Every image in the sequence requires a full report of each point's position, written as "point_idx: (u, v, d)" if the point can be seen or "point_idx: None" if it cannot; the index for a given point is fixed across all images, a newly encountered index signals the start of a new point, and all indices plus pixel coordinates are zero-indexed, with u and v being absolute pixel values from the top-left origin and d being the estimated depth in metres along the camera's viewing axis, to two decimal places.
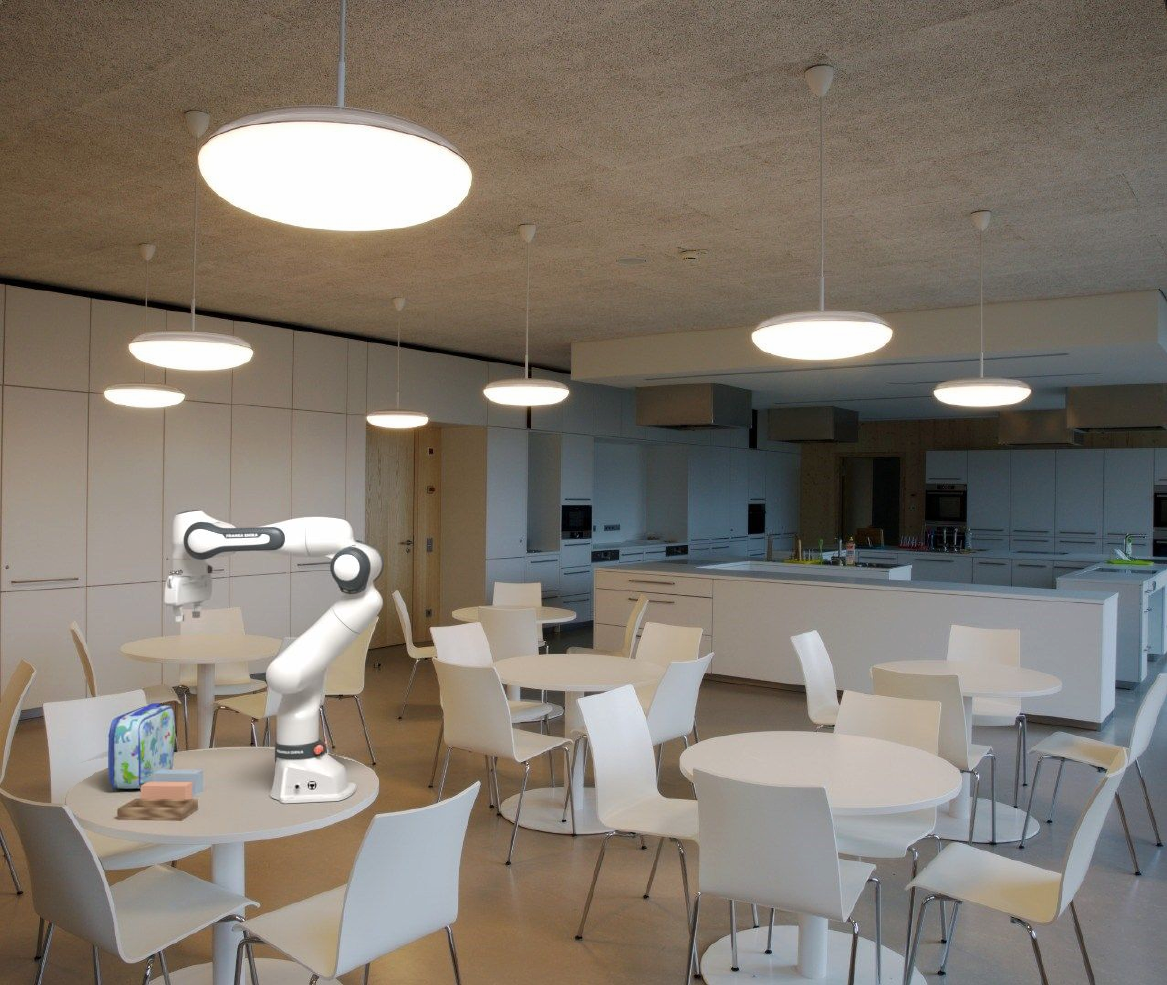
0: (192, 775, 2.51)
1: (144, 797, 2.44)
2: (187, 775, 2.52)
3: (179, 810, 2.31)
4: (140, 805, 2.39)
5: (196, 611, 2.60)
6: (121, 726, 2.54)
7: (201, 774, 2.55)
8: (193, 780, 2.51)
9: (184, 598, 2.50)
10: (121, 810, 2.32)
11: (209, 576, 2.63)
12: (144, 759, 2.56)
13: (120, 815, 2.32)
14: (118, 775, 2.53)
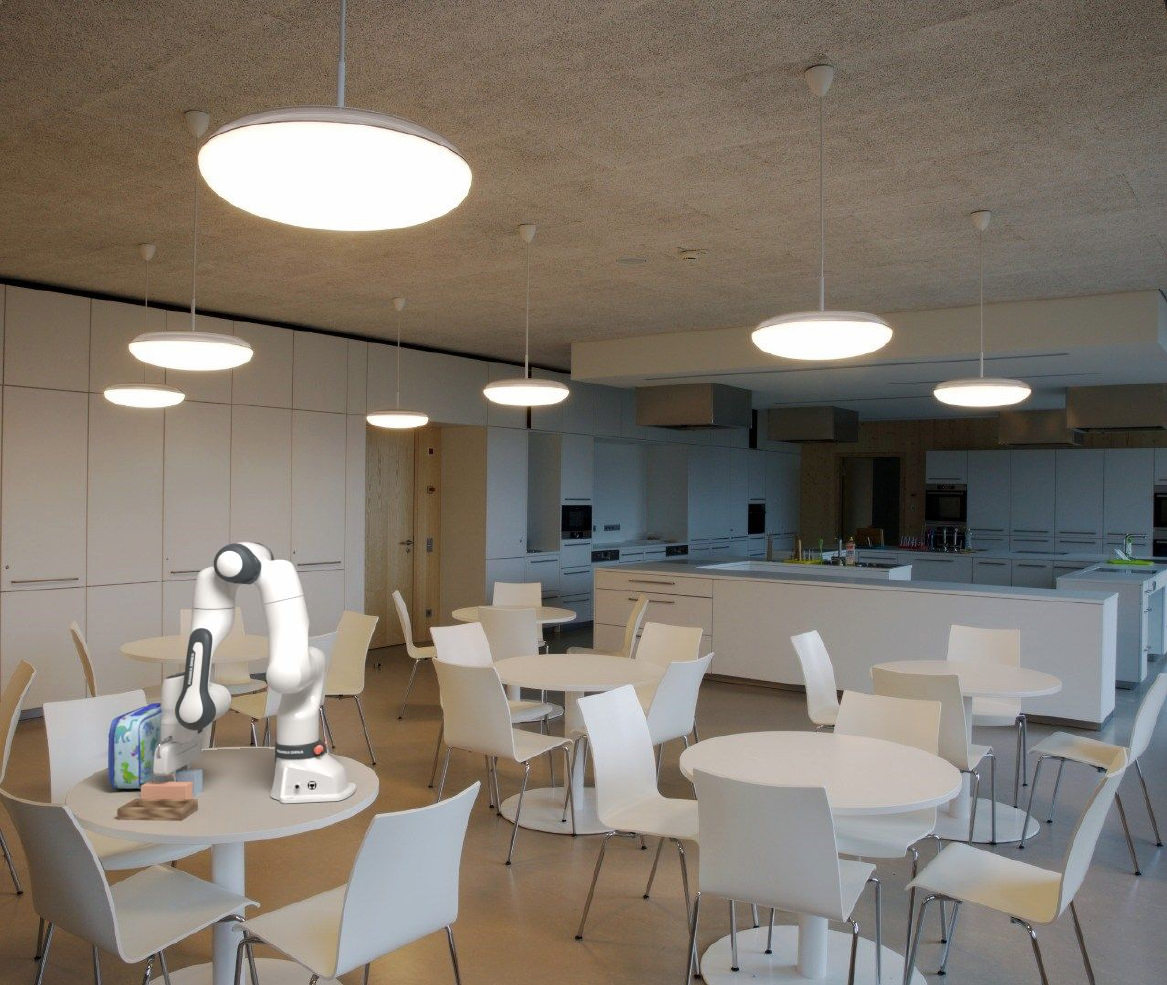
0: (191, 775, 2.51)
1: (144, 797, 2.44)
2: (186, 775, 2.51)
3: (179, 810, 2.31)
4: (140, 805, 2.39)
5: None
6: (121, 726, 2.54)
7: (200, 774, 2.54)
8: (192, 780, 2.51)
9: (174, 765, 2.48)
10: (121, 810, 2.32)
11: (199, 735, 2.61)
12: (144, 759, 2.56)
13: (120, 815, 2.32)
14: (118, 775, 2.53)
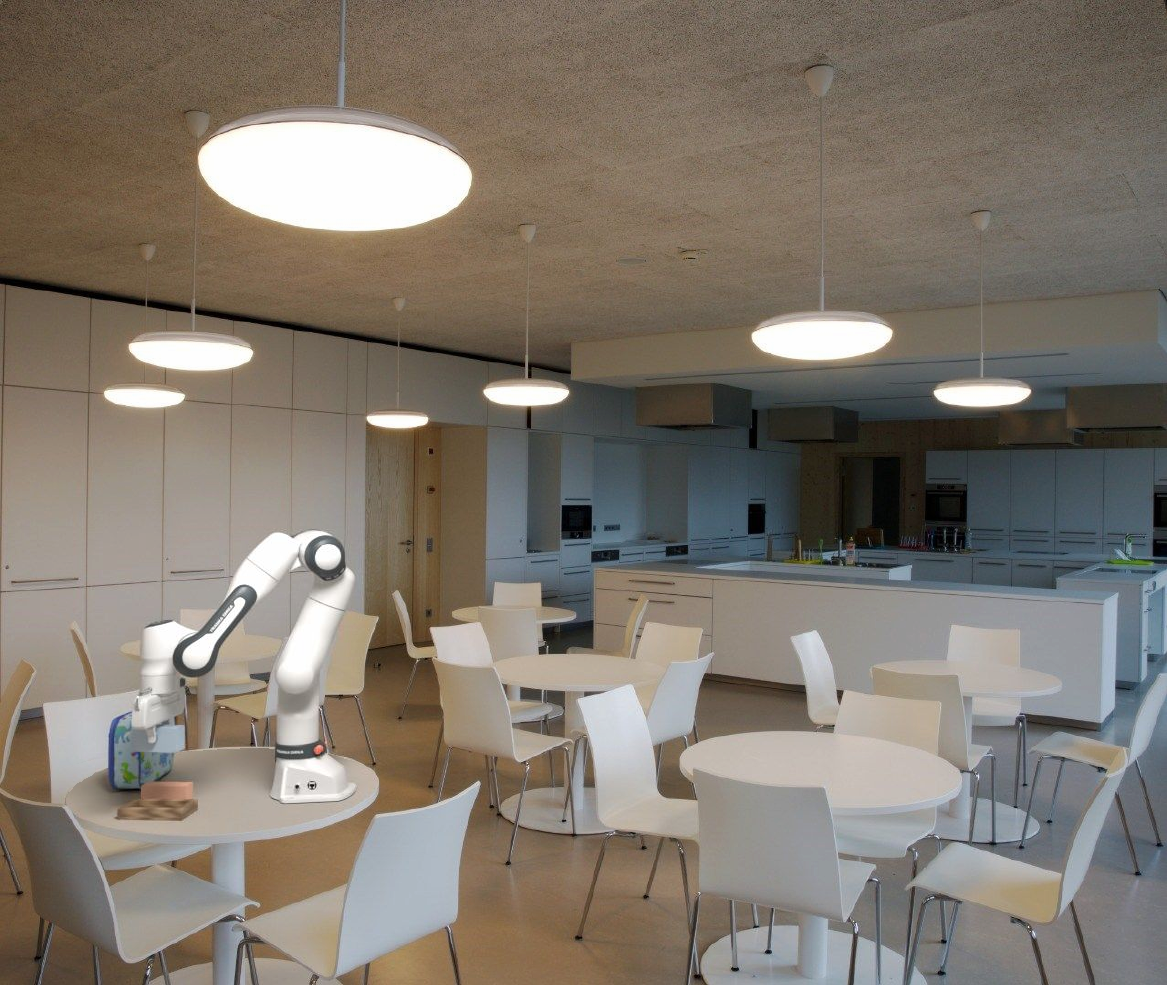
0: (172, 730, 2.33)
1: (144, 797, 2.44)
2: (167, 730, 2.34)
3: (179, 810, 2.31)
4: (140, 805, 2.39)
5: None
6: (121, 726, 2.54)
7: (183, 729, 2.37)
8: (173, 735, 2.33)
9: (154, 718, 2.30)
10: (121, 810, 2.32)
11: (182, 689, 2.43)
12: (144, 759, 2.56)
13: (120, 815, 2.32)
14: (118, 775, 2.53)
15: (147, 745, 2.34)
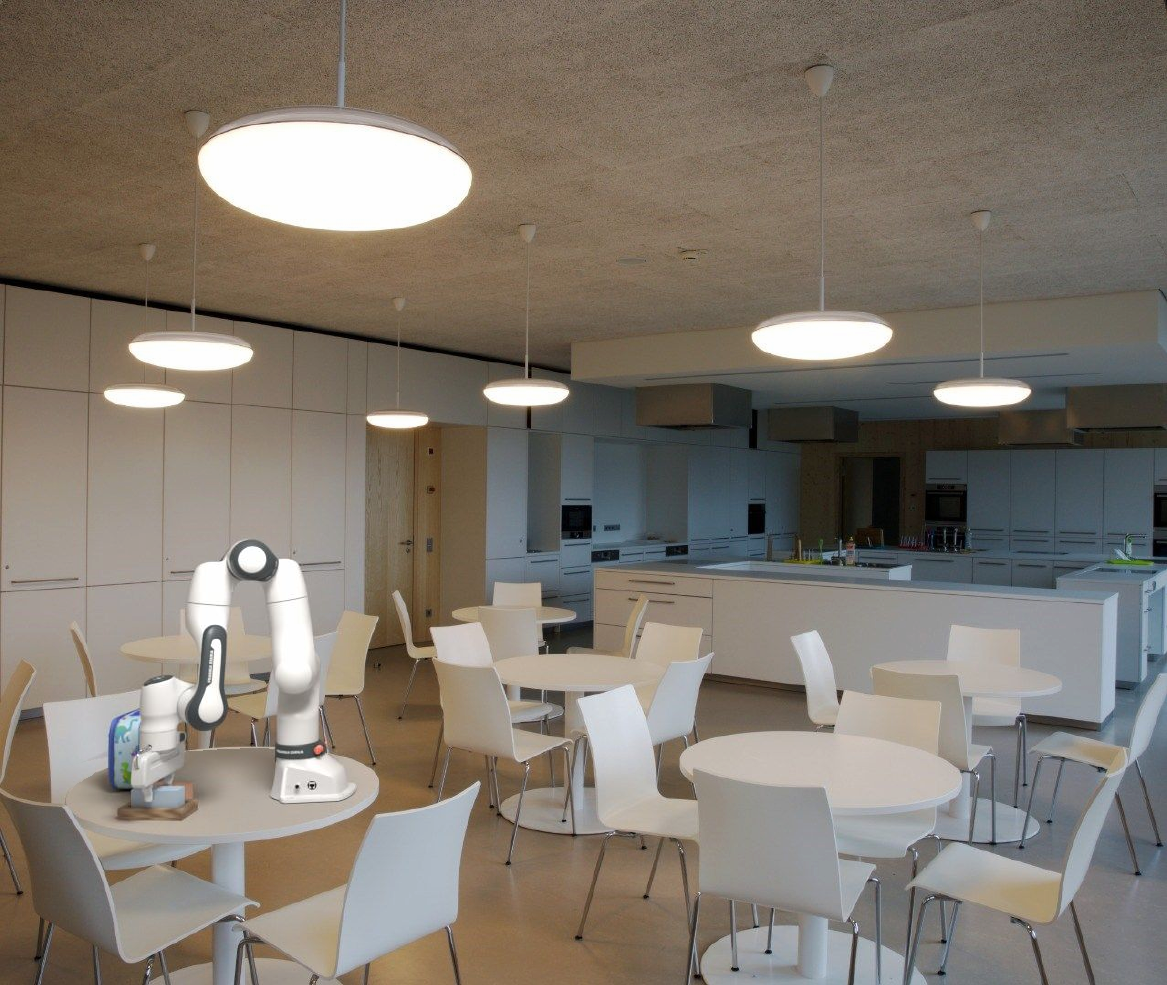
0: (173, 792, 2.33)
1: None
2: (167, 792, 2.33)
3: (179, 810, 2.31)
4: None
5: (166, 784, 2.40)
6: (121, 726, 2.54)
7: (183, 791, 2.36)
8: (174, 798, 2.33)
9: (153, 776, 2.30)
10: (121, 810, 2.32)
11: (182, 743, 2.43)
12: None
13: (120, 815, 2.32)
14: (118, 775, 2.53)
15: None
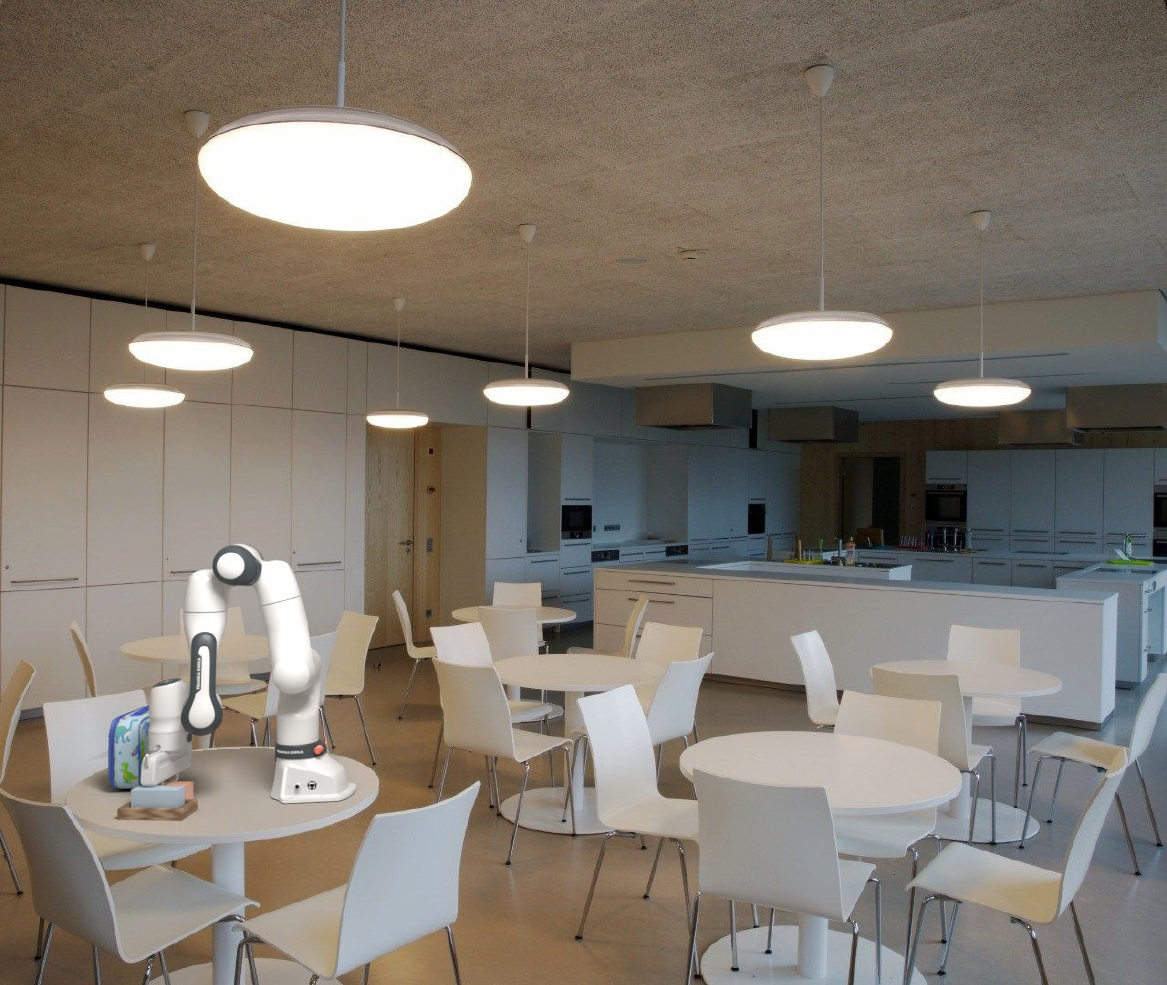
0: (173, 792, 2.33)
1: None
2: (167, 792, 2.33)
3: (179, 810, 2.31)
4: None
5: None
6: (121, 726, 2.54)
7: (183, 791, 2.36)
8: (174, 798, 2.33)
9: (162, 775, 2.40)
10: (121, 810, 2.32)
11: (189, 744, 2.53)
12: None
13: (120, 815, 2.32)
14: (118, 775, 2.53)
15: None
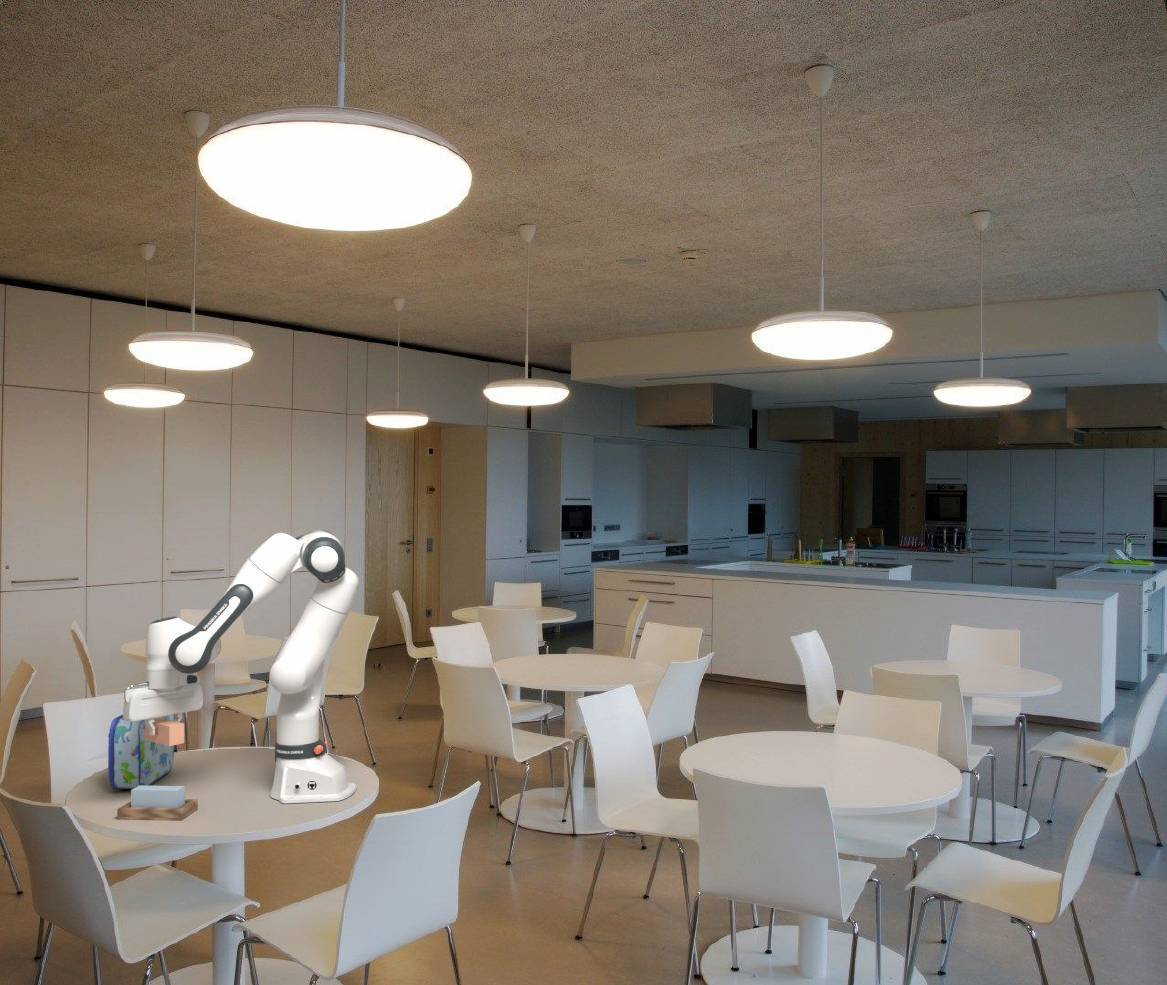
0: (173, 792, 2.33)
1: (146, 732, 2.44)
2: (167, 792, 2.33)
3: (179, 810, 2.31)
4: None
5: None
6: (121, 726, 2.54)
7: (183, 791, 2.36)
8: (174, 798, 2.33)
9: (146, 712, 2.37)
10: (121, 810, 2.32)
11: (194, 686, 2.47)
12: (144, 759, 2.56)
13: (120, 815, 2.32)
14: (118, 775, 2.53)
15: None
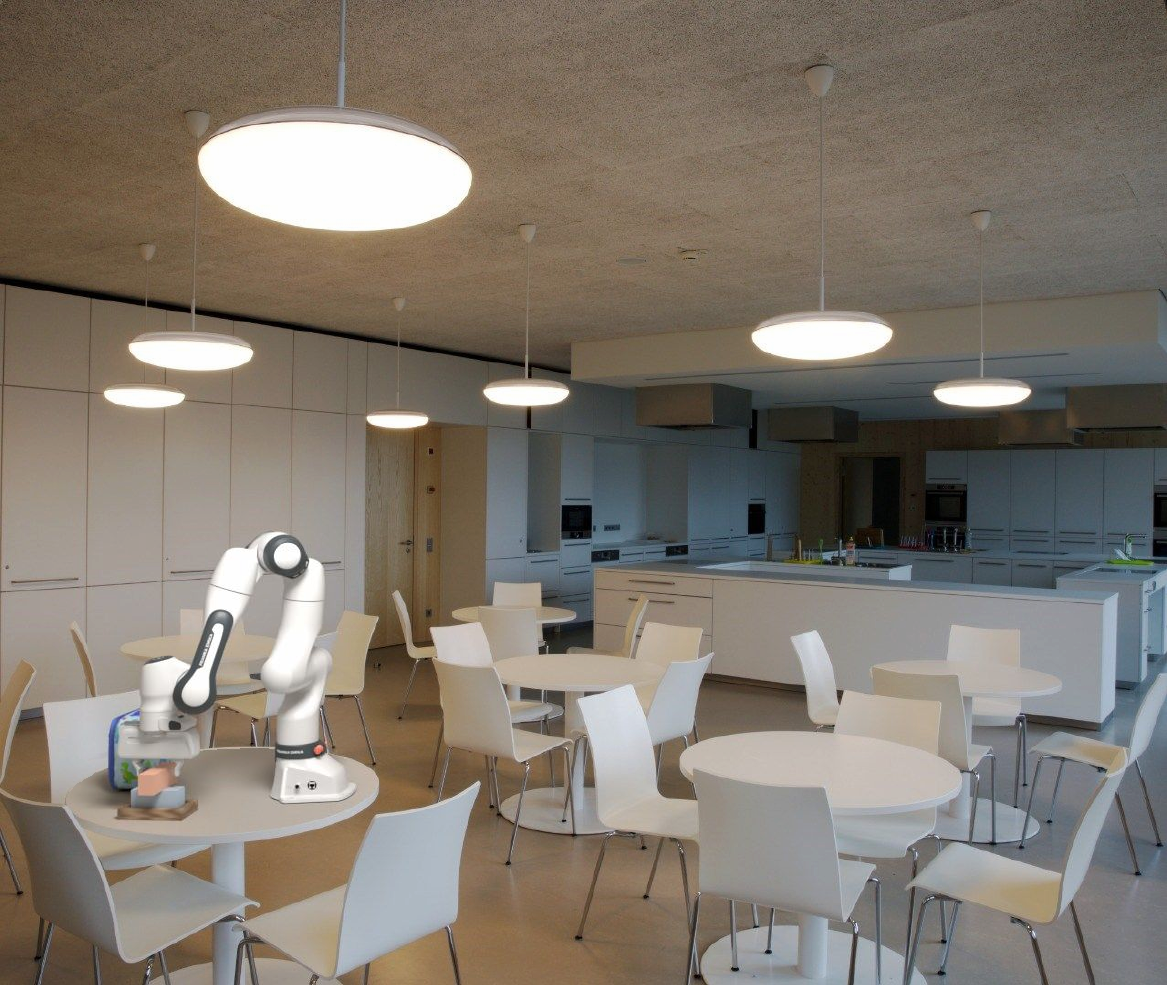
0: (173, 792, 2.33)
1: None
2: (167, 792, 2.33)
3: (179, 810, 2.31)
4: None
5: (174, 769, 2.35)
6: None
7: (183, 791, 2.36)
8: (174, 798, 2.33)
9: (133, 751, 2.34)
10: (121, 810, 2.32)
11: (180, 733, 2.33)
12: (144, 759, 2.56)
13: (120, 815, 2.32)
14: (118, 775, 2.53)
15: None
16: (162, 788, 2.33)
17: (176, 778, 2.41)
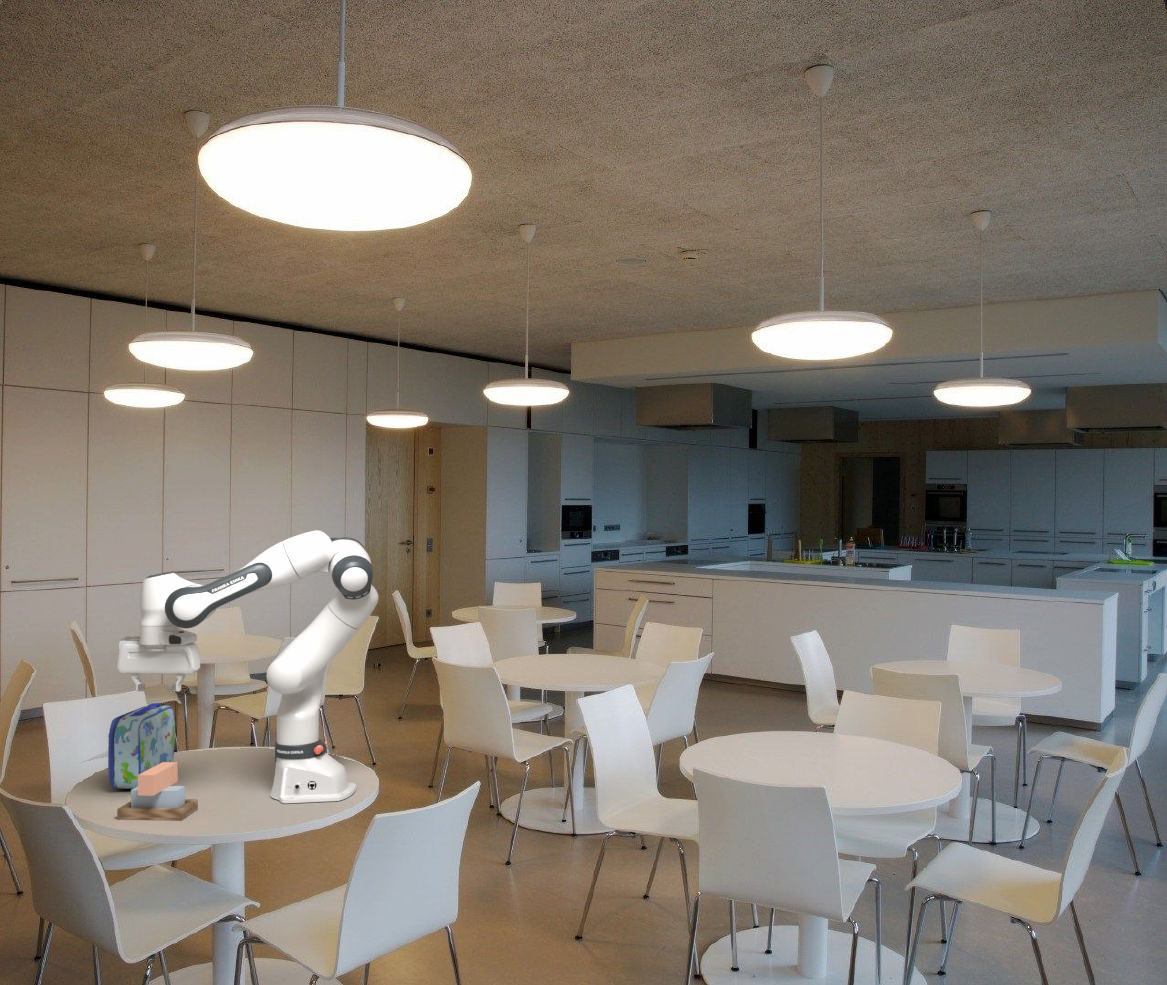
0: (173, 792, 2.33)
1: None
2: (167, 792, 2.33)
3: (179, 810, 2.31)
4: None
5: (175, 684, 2.36)
6: (121, 726, 2.54)
7: (183, 791, 2.36)
8: (174, 798, 2.33)
9: (133, 666, 2.35)
10: (121, 810, 2.32)
11: (180, 647, 2.33)
12: (144, 759, 2.56)
13: (120, 815, 2.32)
14: (118, 775, 2.53)
15: None
16: (162, 788, 2.33)
17: (176, 778, 2.41)
